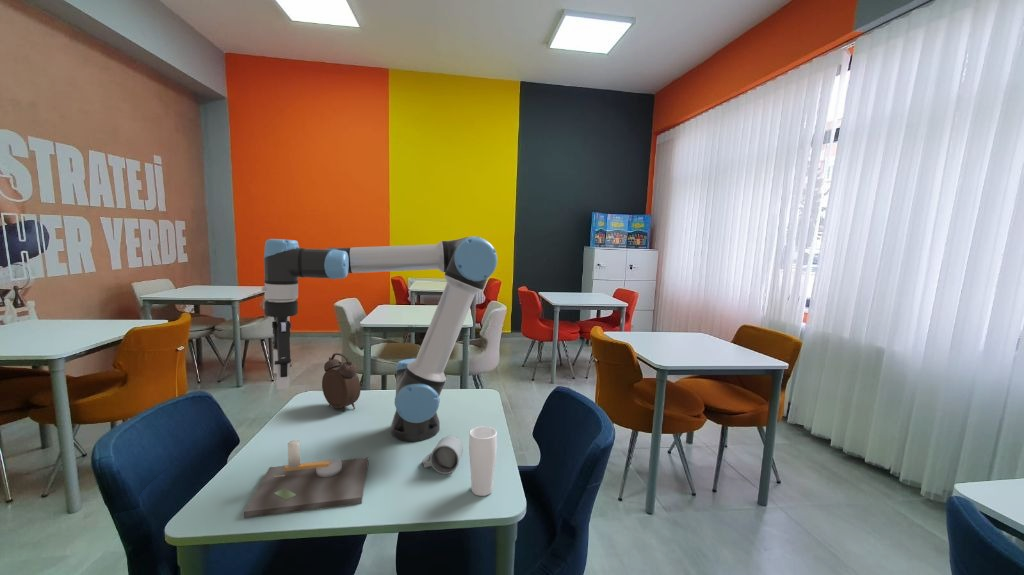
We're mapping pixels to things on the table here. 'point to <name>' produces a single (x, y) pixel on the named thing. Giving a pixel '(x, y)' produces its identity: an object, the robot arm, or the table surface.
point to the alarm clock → (340, 382)
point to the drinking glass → (482, 459)
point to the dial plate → (308, 489)
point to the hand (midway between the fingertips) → (281, 380)
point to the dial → (322, 468)
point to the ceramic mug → (445, 455)
